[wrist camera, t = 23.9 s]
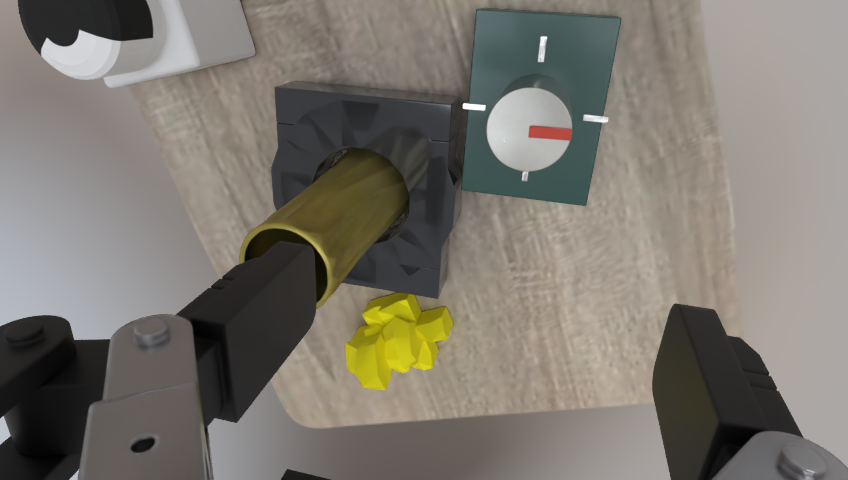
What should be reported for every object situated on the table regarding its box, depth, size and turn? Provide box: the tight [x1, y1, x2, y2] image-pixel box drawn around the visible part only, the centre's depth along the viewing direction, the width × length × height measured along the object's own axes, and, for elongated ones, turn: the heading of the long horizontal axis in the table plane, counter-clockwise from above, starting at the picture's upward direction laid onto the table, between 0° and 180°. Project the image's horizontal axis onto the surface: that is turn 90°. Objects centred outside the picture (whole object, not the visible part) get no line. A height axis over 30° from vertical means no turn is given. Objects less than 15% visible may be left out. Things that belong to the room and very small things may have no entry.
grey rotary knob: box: [486, 75, 572, 172], centre depth 30 cm, size 4×4×5 cm
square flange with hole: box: [271, 81, 462, 299], centre depth 39 cm, size 14×13×3 cm
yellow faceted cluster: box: [345, 292, 453, 390], centre depth 41 cm, size 6×8×8 cm
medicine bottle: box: [18, 0, 256, 88], centre depth 33 cm, size 7×7×12 cm
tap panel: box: [461, 8, 621, 206], centre depth 34 cm, size 11×9×3 cm
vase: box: [239, 148, 409, 308], centre depth 34 cm, size 6×6×14 cm
